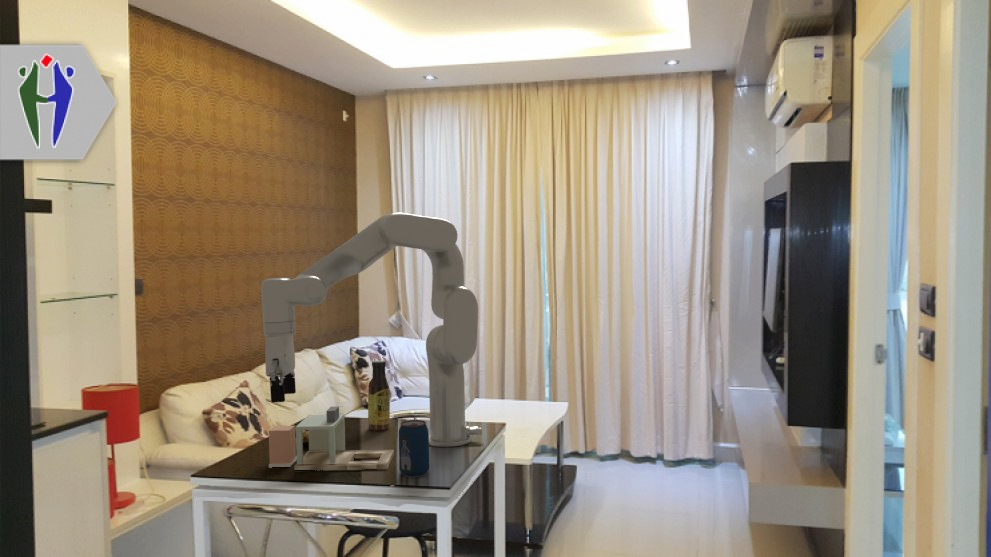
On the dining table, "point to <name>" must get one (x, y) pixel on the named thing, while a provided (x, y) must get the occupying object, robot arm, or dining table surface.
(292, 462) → the ceramic trivet
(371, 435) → the dining table surface
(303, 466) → the puzzle board
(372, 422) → the sauce bottle
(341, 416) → the pale green table stand
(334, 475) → the dining table surface
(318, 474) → the dining table surface
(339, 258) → the robot arm
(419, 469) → the soda can
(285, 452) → the block
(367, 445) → the dining table surface
